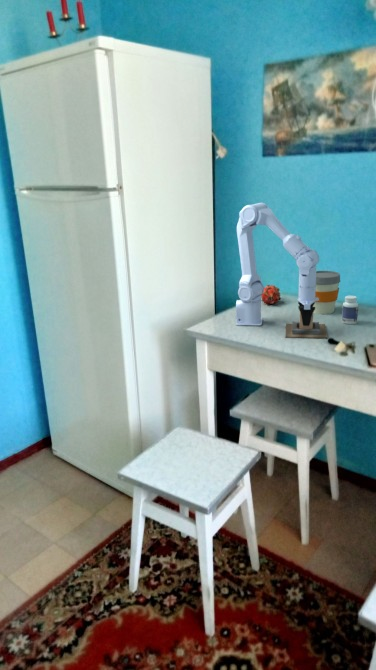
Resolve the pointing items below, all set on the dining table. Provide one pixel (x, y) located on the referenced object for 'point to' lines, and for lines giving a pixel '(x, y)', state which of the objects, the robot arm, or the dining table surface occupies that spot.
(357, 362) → the dining table surface
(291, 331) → the socket board
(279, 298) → the dragon fruit
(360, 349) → the dining table surface
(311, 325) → the beige upright block
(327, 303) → the reusable coffee cup
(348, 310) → the pill bottle
